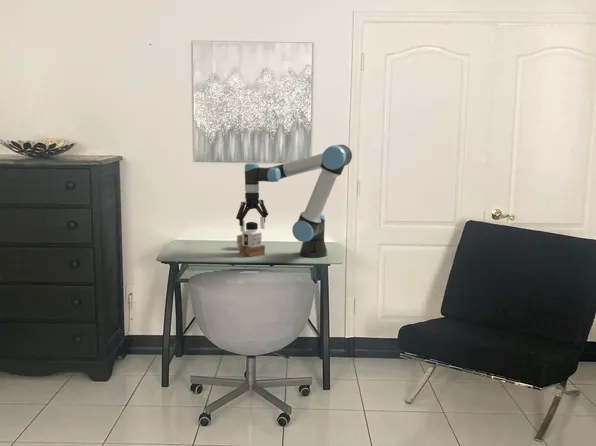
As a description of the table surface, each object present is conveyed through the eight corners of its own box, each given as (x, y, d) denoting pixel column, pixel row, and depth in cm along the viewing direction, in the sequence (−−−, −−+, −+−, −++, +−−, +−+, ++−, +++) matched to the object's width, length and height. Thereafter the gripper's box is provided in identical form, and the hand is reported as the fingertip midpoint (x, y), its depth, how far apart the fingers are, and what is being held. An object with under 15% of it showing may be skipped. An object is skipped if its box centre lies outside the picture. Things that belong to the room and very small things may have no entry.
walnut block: (264, 254, 353) (264, 245, 352) (250, 257, 346) (250, 248, 345) (253, 251, 360) (253, 242, 359) (239, 253, 354) (239, 245, 353)
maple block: (251, 248, 368) (251, 235, 366) (245, 250, 363) (245, 236, 361) (243, 247, 371) (243, 233, 369) (237, 249, 366) (236, 235, 364)
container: (252, 247, 347) (252, 224, 345) (242, 245, 352) (241, 222, 349) (261, 245, 353) (261, 222, 351) (251, 243, 358) (251, 220, 355)
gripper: (265, 189, 358) (266, 226, 361) (229, 193, 342) (230, 232, 345) (274, 190, 352) (274, 228, 356) (237, 194, 336) (238, 234, 340)
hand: (252, 230), depth 351 cm, fingers open, 13 cm apart
